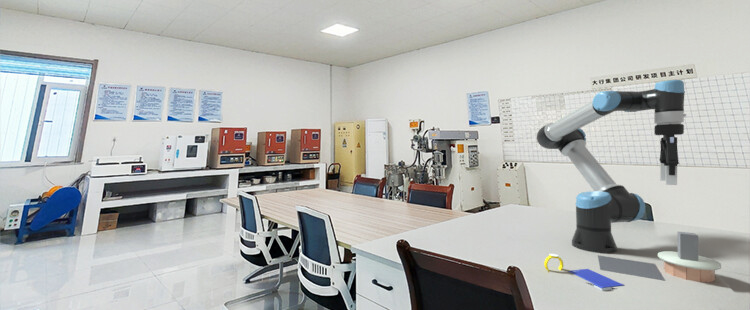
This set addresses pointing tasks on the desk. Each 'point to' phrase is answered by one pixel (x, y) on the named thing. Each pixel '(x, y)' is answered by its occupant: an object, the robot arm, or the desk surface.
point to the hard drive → (596, 279)
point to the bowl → (689, 273)
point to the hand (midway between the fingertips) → (668, 182)
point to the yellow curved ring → (550, 258)
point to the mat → (630, 267)
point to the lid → (689, 254)
